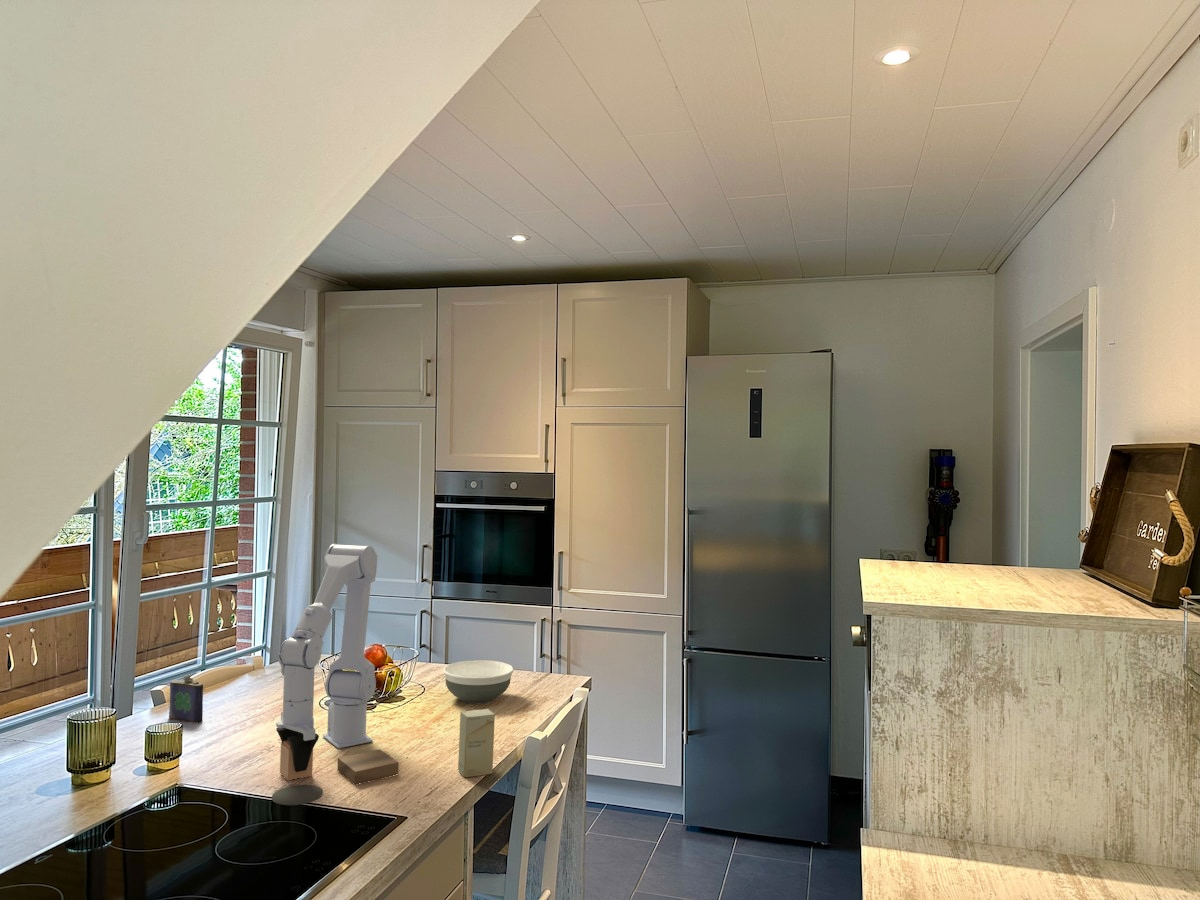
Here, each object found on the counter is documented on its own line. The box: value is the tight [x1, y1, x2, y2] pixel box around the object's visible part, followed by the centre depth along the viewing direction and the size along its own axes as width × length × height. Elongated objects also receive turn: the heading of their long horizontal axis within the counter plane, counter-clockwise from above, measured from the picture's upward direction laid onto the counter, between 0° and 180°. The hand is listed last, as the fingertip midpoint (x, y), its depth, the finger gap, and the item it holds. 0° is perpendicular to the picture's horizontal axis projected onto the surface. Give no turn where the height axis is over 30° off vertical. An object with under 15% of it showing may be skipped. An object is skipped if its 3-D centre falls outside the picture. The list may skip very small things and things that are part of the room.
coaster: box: [271, 783, 324, 806], centre depth 153 cm, size 9×9×1 cm
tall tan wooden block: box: [279, 740, 314, 781], centre depth 163 cm, size 5×5×6 cm
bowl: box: [442, 659, 514, 705], centre depth 217 cm, size 19×19×8 cm
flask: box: [168, 674, 204, 724], centre depth 194 cm, size 9×3×11 cm, turn 71°
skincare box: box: [457, 708, 496, 778], centre depth 167 cm, size 6×4×12 cm
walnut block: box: [337, 749, 399, 786], centre depth 165 cm, size 9×9×3 cm
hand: (296, 766), depth 163 cm, fingers closed on tall tan wooden block, 5 cm apart
